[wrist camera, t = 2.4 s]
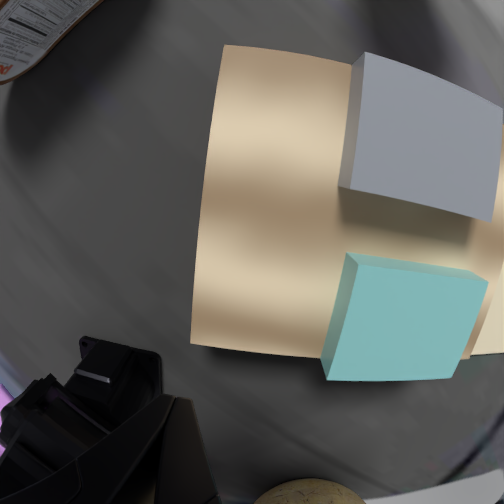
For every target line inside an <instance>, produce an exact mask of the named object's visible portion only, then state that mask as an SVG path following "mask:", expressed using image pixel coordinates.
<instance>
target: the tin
mask: <svg viewBox="0 0 504 504" xmlns="http://www.w3.org/2000/svg"><path fill="white" fill-rule="evenodd" d="M103 1H104V0H0V85H3V84H6V83H8V82H11V81H13V80H15V79H16V78H18V77H20V76H21V75H23V74H25V73H26V72H27V71H29V70H30V69H31V68H33V67H34V66H35V65H36V64H38V63H39V62H40V61H41V60H42V59H43V58H44V57H45V56H46V55H47V54H48V53H49V52H50V51H51V50H52V49H53V48H54V46H55V45H56V44H57V43H58V42H59V41H60V40H61V39H62V38H63V37H64V36H65V35H66V34H67V33H68V32H69V31H70V30H71V29H72V28H73V27H74V26H76V25H77V24H78V23H79V22H80V21H81V20H82V19H83V18H84V17H85V16H86V15H88V14H89V13H90V12H91V11H92V10H93V9H94V8H96V7H97V6H98V5H99V4H100V3H102V2H103Z"/></svg>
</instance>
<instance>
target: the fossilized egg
mask: <svg viewBox="0 0 504 504" xmlns="http://www.w3.org/2000/svg"><path fill="white" fill-rule="evenodd" d="M253 504H366V503H365V502H364V501H363V500H362V499H361V498H360V497H359V496H358V495H357V494H356V493H355V492H353V491H352V490H350V489H348V488H347V487H345V486H343V485H341V484H338V483H336V482H332V481H328V480H323V479H315V478H311V479H299V480H293V481H289V482H286V483H283V484H280V485H278V486H276V487H274V488H272V489H271V490H269V491H267V492H266V493H264V494H263V495H261V496H260V497H259V498H258V499H257V500H256V501H255V502H254V503H253Z"/></svg>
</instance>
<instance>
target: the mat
mask: <svg viewBox="0 0 504 504" xmlns="http://www.w3.org/2000/svg"><path fill="white" fill-rule="evenodd" d="M491 353H504V262H503V265H502V269H501V273H500V276H499V279H498V283H497V286H496V289H495V292H494V296H493V299H492V302H491V304H490V307H489V310H488V313H487V316H486V318H485V321H484V324H483V326H482V329H481V331H480V334H479V336H478V339H477V341H476V344H475V346H474V348H473V351H472V353H471V355H476V354H491Z"/></svg>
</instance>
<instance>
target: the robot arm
mask: <svg viewBox="0 0 504 504" xmlns="http://www.w3.org/2000/svg"><path fill="white" fill-rule="evenodd" d="M85 342H86V343H87V344H85ZM79 346H80V352H81V358H82V361H81V362H80V363H79V364H78V366H77V367H76V368H75V370H74V374H73V375H72V376H71V378H70V379H69V380H68V381H67V383H66V384H65V385H64V387H63V386H62V385H61V384H60V383H59V382H58V381H57V380H56V378H55V377H54V376H53V375H52V374H51V373H50V374H49V375H48V376H47V377H46V378H45V379H43V378H41V379H40V380H39V381H38V380H34V381H33V382H32V383H31V384H30V385H29V386H28V387H27V389H26V390H25V391H24V392H23V393H22V394H21V395H19V396H18V397H16V398H15V399H14V400H12V401H11V402H9V403H8V404H7V405H5V406H4V407H3V408H2V410H1V412H0V416H1V421H2V425H1V427H0V445H1V446H2V447H4V448H5V450H4V452H3V454H2V455H1V457H0V504H222V502H221V499H220V496H218V491H217V487H216V484H215V481H214V478H213V475H212V471H211V468H210V464H209V461H208V458H207V454H206V451H205V447H204V443H203V440H202V436H201V432H200V428H199V425H198V421H197V417H196V413H195V409H194V405H193V401H192V399H190V398H184V397H177V398H176V397H175V396H173V395H168V394H161V372H160V356H159V355H158V354H157V353H155V352H152V351H147V350H142V349H138V348H133V347H130V346H126V345H122V344H117V343H113V342H109V341H105V340H99V339H95V338H91V337H87V336H83V337H82V338H81V339H80V340H79ZM151 358H154V359H155V360H152V359H151Z"/></svg>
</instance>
